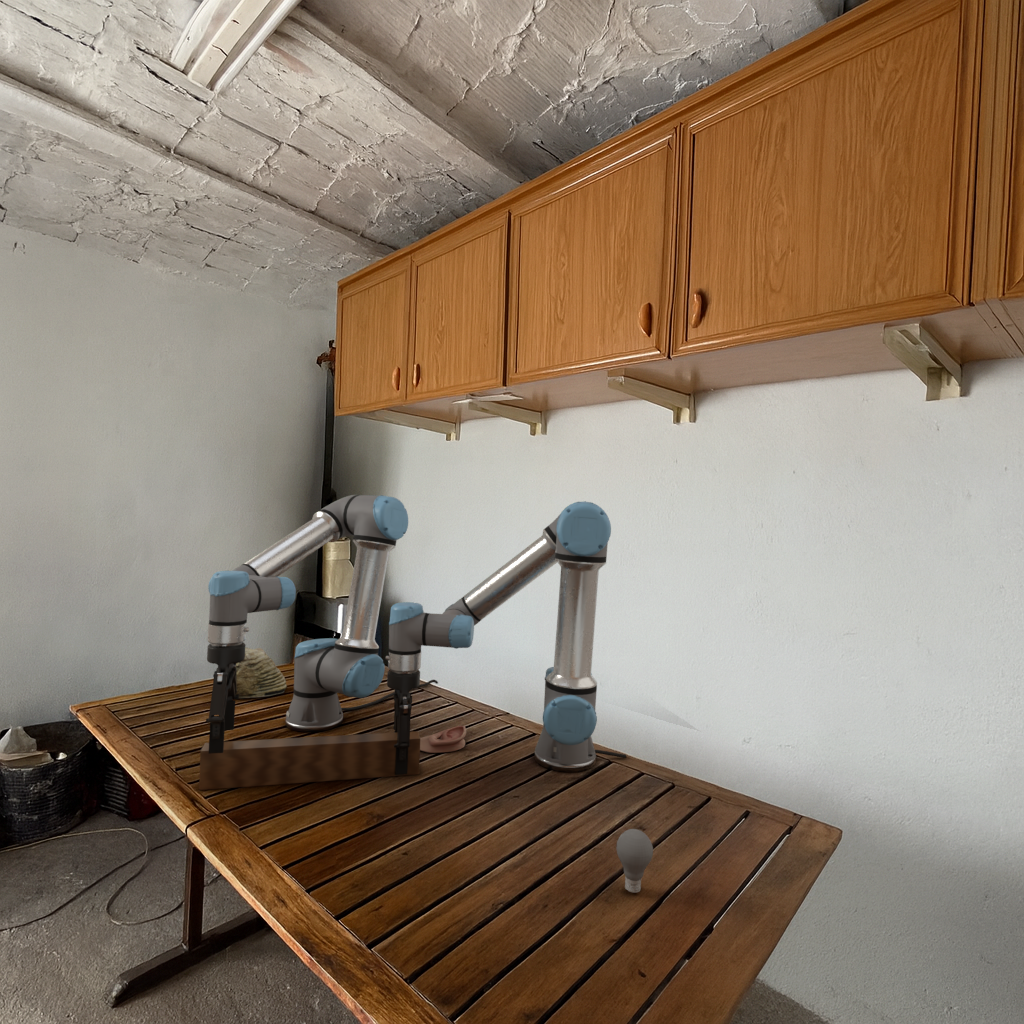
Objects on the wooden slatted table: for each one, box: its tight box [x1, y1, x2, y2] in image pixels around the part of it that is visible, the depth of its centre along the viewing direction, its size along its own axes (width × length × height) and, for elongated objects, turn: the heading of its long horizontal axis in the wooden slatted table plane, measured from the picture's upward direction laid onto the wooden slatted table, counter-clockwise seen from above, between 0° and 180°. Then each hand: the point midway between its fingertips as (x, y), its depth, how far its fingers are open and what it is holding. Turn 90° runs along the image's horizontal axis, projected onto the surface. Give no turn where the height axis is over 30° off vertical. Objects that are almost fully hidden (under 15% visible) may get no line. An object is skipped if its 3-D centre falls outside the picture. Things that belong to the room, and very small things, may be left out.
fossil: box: [236, 646, 288, 699], centre depth 198 cm, size 9×18×15 cm, turn 132°
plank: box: [198, 730, 421, 791], centre depth 143 cm, size 47×5×8 cm, turn 105°
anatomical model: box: [420, 725, 467, 754], centre depth 164 cm, size 13×4×12 cm
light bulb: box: [615, 828, 654, 894], centre depth 106 cm, size 6×6×10 cm
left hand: (221, 740), depth 137 cm, fingers open, 13 cm apart
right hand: (399, 768), depth 148 cm, fingers closed on plank, 5 cm apart
